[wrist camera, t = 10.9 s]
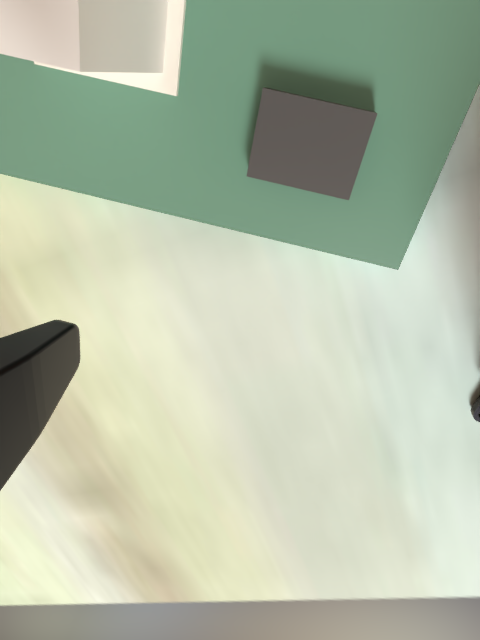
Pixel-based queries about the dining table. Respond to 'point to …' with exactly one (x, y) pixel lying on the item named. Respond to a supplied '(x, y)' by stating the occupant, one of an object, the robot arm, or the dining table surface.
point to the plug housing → (86, 33)
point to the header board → (263, 119)
